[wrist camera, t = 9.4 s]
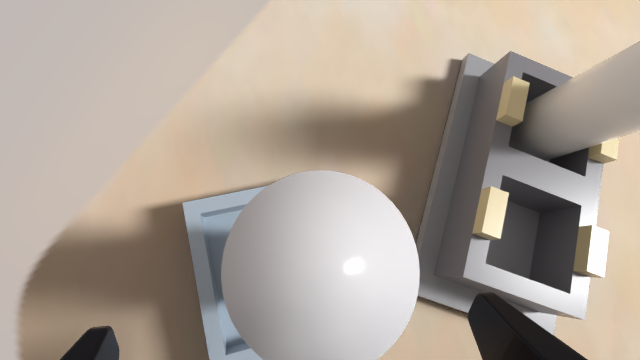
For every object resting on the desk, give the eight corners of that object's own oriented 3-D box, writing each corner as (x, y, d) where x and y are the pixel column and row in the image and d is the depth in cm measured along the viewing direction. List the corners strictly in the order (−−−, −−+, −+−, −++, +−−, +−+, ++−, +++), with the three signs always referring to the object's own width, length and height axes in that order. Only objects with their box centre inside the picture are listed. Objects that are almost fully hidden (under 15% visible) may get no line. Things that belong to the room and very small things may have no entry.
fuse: (549, 165, 24) (893, 60, 11) (499, 173, 23) (811, 69, 10) (533, 109, 24) (840, -48, 12) (484, 115, 23) (759, -48, 11)
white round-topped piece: (328, 273, 20) (456, 290, 7) (269, 318, 19) (300, 427, 6) (288, 215, 20) (345, 135, 8) (228, 256, 19) (179, 242, 7)
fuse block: (542, 339, 22) (616, 358, 17) (404, 291, 21) (444, 299, 16) (576, 107, 26) (642, 75, 22) (462, 59, 25) (507, 16, 21)
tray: (364, 319, 20) (378, 326, 18) (216, 363, 18) (212, 376, 16) (330, 180, 22) (338, 171, 19) (189, 209, 20) (182, 202, 18)
